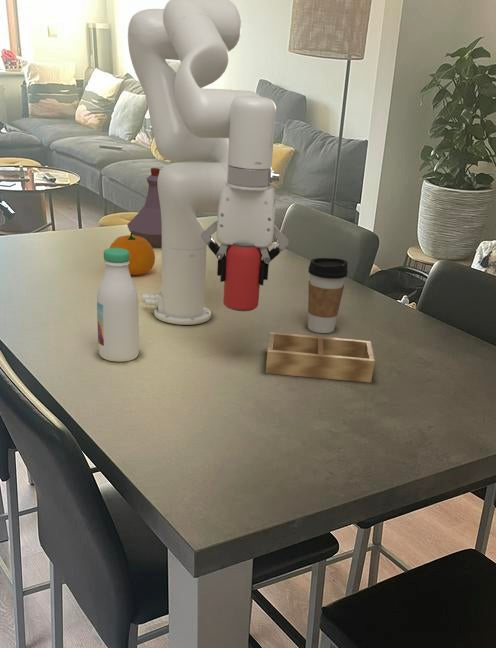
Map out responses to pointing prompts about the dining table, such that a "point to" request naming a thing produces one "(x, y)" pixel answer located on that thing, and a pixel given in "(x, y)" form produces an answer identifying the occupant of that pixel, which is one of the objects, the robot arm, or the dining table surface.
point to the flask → (149, 214)
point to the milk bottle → (117, 309)
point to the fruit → (136, 253)
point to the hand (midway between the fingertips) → (242, 280)
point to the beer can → (242, 277)
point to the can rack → (320, 357)
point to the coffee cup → (325, 292)
